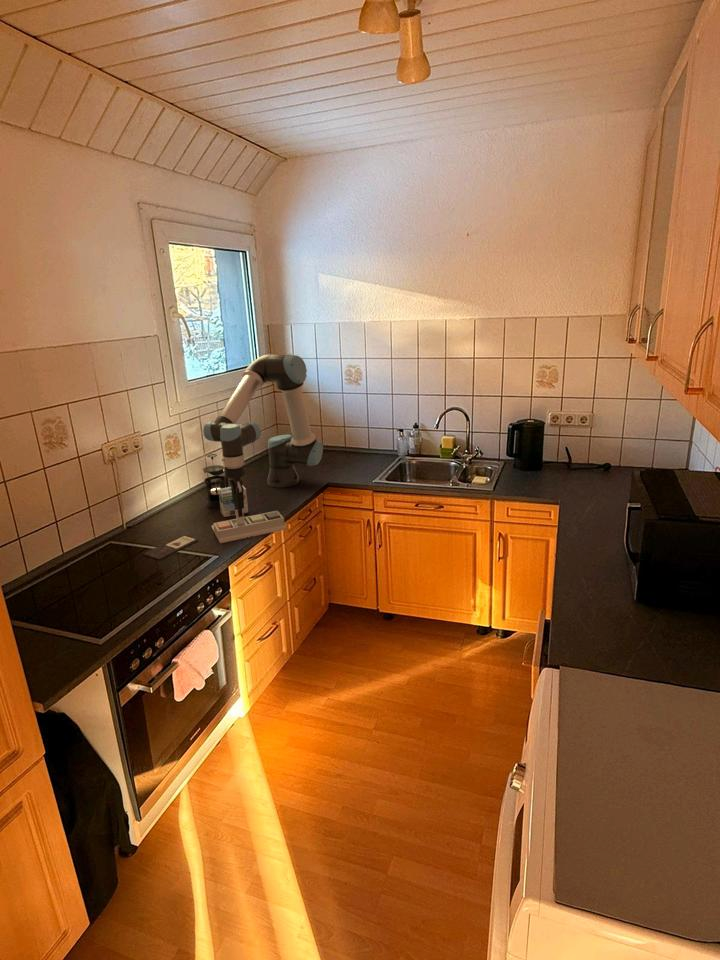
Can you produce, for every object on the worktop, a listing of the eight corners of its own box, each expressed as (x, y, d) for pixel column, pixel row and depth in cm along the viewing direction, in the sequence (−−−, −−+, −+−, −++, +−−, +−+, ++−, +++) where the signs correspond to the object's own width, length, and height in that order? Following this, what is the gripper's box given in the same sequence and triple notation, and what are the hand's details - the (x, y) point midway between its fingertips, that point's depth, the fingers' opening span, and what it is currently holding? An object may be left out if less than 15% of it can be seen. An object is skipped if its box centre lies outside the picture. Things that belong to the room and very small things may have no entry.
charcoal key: (276, 515, 226) (276, 511, 226) (280, 519, 223) (279, 515, 222) (266, 517, 225) (265, 513, 224) (269, 521, 221) (268, 517, 220)
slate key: (245, 524, 222) (245, 520, 221) (248, 528, 218) (247, 524, 217) (234, 526, 220) (233, 522, 220) (236, 530, 216) (236, 527, 216)
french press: (215, 510, 241) (209, 459, 234) (201, 506, 247) (194, 456, 239) (236, 501, 250) (230, 452, 243) (222, 498, 256) (216, 449, 248)
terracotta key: (228, 524, 219) (228, 521, 218) (231, 528, 215) (230, 525, 214) (217, 527, 217) (216, 523, 217) (219, 531, 213) (219, 527, 213)
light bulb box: (224, 517, 234) (221, 493, 230) (220, 512, 240) (217, 488, 236) (249, 512, 238) (246, 488, 235) (244, 507, 244) (242, 484, 241)
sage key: (261, 518, 224) (260, 514, 223) (264, 522, 220) (263, 518, 220) (250, 520, 222) (249, 516, 222) (253, 524, 218) (252, 520, 218)
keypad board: (274, 515, 234) (273, 506, 233) (286, 529, 220) (285, 519, 219) (211, 527, 224) (210, 518, 223) (220, 543, 210) (219, 533, 209)
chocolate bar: (142, 553, 203) (181, 535, 217) (143, 556, 203) (182, 537, 217) (159, 559, 198) (198, 540, 212) (159, 561, 198) (198, 542, 213)
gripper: (220, 462, 215) (227, 519, 222) (228, 472, 204) (234, 531, 211) (240, 459, 218) (245, 515, 225) (248, 468, 206) (254, 527, 214)
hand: (240, 523), depth 218 cm, fingers closed
